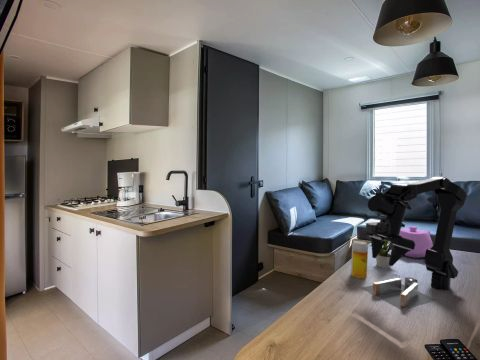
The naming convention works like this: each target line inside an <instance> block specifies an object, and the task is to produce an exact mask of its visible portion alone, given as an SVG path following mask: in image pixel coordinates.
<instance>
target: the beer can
mask: <svg viewBox="0 0 480 360" xmlns="http://www.w3.org/2000/svg"><path fill="white" fill-rule="evenodd" d="M351 244H352V245H351V262H350V263H351V265H350V267H351V268H350V275H351V276H352V277H355V278H358V279H366V278H367V277H368V274H367V273H368V254H369V253H368V252H369V251H368V250H369V246H368V243H367V242H366V241H362V240H353V242H352V243H351Z"/></svg>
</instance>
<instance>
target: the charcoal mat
mask: <svg viewBox="0 0 480 360" xmlns="http://www.w3.org/2000/svg"><path fill="white" fill-rule="evenodd" d="M404 288H405V284H402V283H401V290H397V291H392V292H388V293H384V294H380V295H376V296H375V295H373V284H371V285H368V286H363V287H360V289H361V290H363V291H365V292H367V293H369V294H371V295H373V296H374V297H377V298H378V299H380V300H382V301H384V302H385V303H388V304H389V305H391V306H393V307H396V308H397V309H399V310H401V311H404V310H406V309H411V308H413V307H417V306H421V305H422V306H423V305H425V304H429V303H432V302H437V301H438V299H436V298H434V297H431V296H430V295H428V294H426V293H422V292H420V291H419V290H418V294H417V295H416V297H415V298H414V299H413V300H412V301H411V302H410V303H409V304H408V305H407V306H406V307H405V308H404V307H401V306H400V302H401V294H402V293H403V292H404V291H405V289H404Z"/></svg>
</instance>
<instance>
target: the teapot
mask: <svg viewBox="0 0 480 360" xmlns="http://www.w3.org/2000/svg"><path fill="white" fill-rule="evenodd" d="M408 227H409V228H407V227H404V228H401V230H400V234H399V235H400V236H402V237H403V238H406V239H409V240H412V241H414V242H415V248H414V250H412V249H409V250H411V251H408V252H407V253H406V254H405V255H404V256H406V257H409V258H411V257H412V259H417V258H424V257H425V254H426V250H427V249H430V248H431V247H432V246H433V245H434V243H433V241H432V238H431V231H430V230H427V229H426V230H423V229H422V230H421V229H418V226H414V225H410V226H408ZM393 245H394V244H393Z"/></svg>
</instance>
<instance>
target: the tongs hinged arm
mask: <svg viewBox="0 0 480 360" xmlns="http://www.w3.org/2000/svg"><path fill="white" fill-rule="evenodd" d="M418 282H419V281H418V279H416V278H415V277H410V276H408V277H407V276H406V277H404V285H405V288H404V289H405V291H404V292H403V293H402V294H401V302H400V306H401V307H404V308H405V307H406V306H407V305H408V304H409V303H410V302H411V301H412V300H413V299H414V298H415V297H416V295H417V294H418V291H419V283H418Z"/></svg>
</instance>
